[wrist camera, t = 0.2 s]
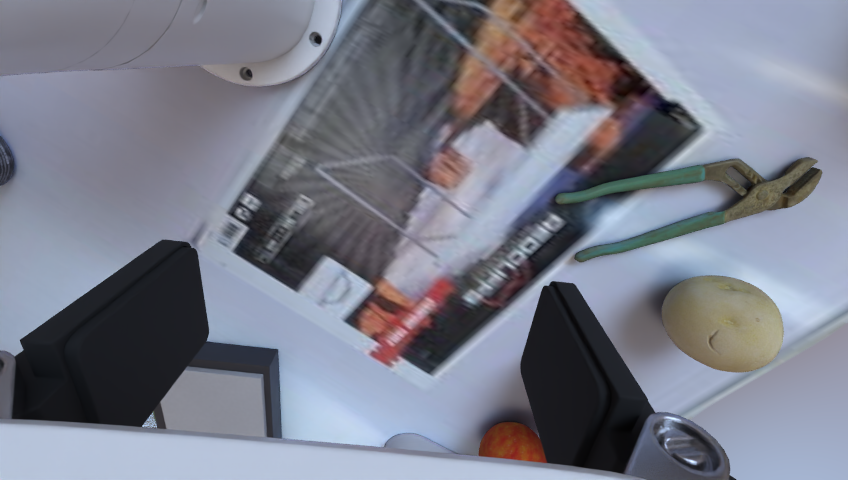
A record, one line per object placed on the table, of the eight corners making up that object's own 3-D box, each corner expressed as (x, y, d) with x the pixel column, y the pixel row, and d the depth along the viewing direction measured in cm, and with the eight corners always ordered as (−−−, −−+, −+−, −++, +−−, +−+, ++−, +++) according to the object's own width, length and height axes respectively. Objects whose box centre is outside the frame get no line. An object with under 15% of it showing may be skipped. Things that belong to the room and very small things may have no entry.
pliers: (562, 261, 34) (567, 268, 33) (552, 193, 32) (557, 198, 31) (805, 204, 32) (819, 210, 31) (816, 125, 29) (832, 128, 28)
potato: (731, 246, 33) (814, 299, 26) (733, 317, 37) (808, 382, 29) (640, 271, 35) (696, 329, 27) (650, 338, 38) (702, 406, 30)
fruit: (548, 435, 44) (572, 510, 37) (494, 457, 46) (506, 533, 38) (519, 397, 42) (538, 470, 34) (463, 422, 43) (470, 496, 36)
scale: (150, 335, 39) (129, 356, 36) (278, 349, 39) (266, 371, 36) (171, 432, 45) (154, 457, 42) (282, 443, 45) (272, 468, 42)
